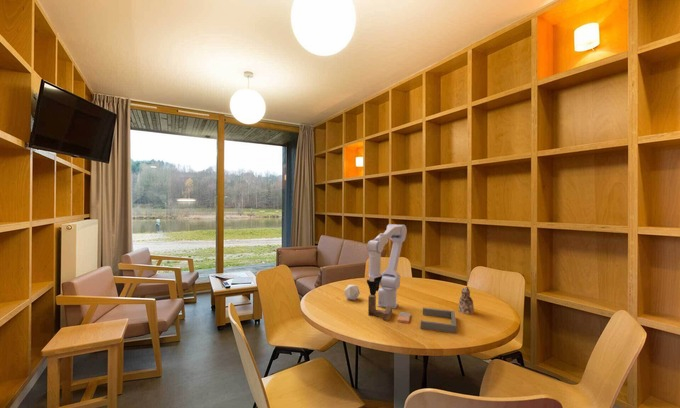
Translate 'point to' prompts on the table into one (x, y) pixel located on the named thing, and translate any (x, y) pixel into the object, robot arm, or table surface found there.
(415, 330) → the table surface
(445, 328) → the grey flat u-shaped piece
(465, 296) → the figurine
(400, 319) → the tile terracotta
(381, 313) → the scraper
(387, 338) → the table surface
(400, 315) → the tile slate
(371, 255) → the robot arm
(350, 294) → the die
